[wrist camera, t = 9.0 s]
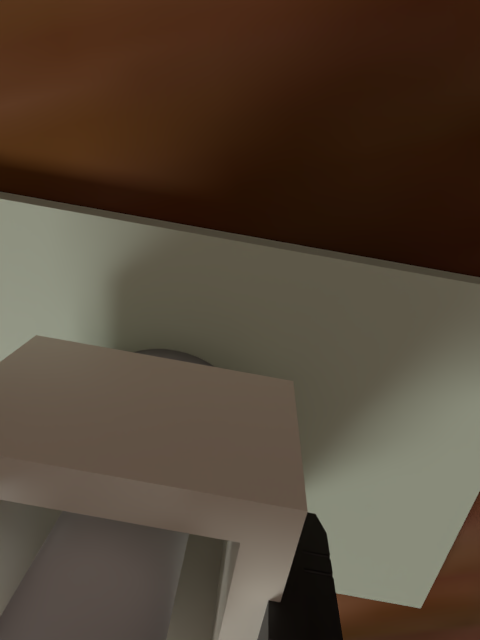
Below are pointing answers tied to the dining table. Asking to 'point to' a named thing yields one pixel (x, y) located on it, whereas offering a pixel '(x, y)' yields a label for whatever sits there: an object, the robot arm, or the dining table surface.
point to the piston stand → (262, 359)
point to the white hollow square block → (155, 470)
